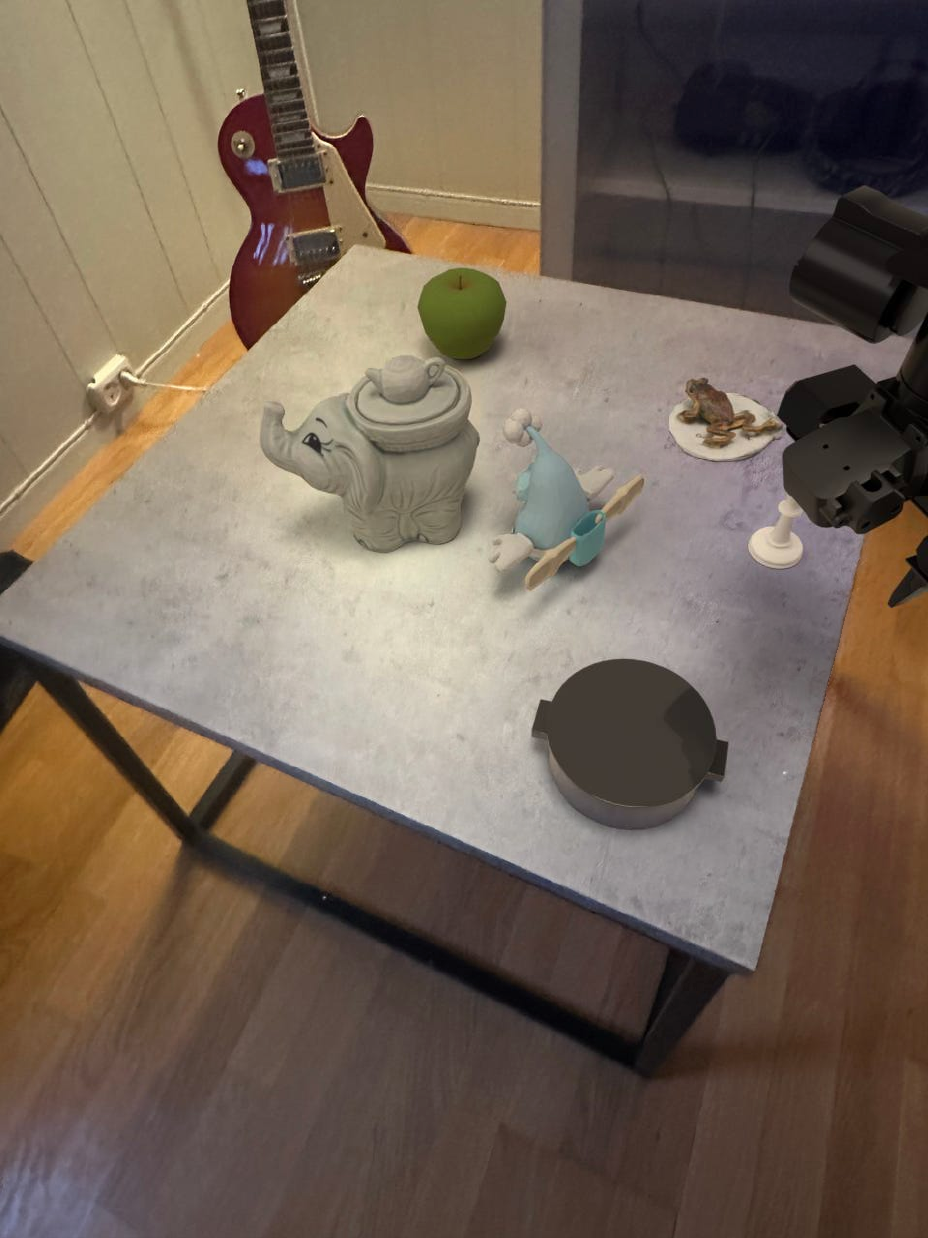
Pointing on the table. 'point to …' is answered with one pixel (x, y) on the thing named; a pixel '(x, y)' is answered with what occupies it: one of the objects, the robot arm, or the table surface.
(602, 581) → the table surface
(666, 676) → the pot
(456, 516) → the teapot
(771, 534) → the chess piece
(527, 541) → the toy figure
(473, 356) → the apple
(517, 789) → the table surface
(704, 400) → the frog figurine
